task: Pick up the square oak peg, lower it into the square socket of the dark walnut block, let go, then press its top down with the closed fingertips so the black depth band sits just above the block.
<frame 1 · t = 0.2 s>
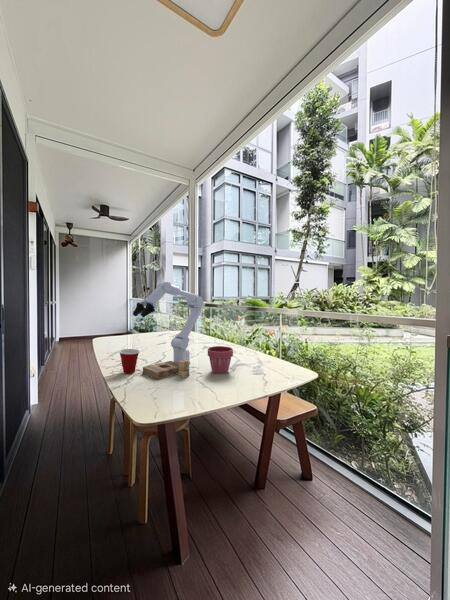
hand: (137, 315, 139), 31 cm above the table, tool tilted 45°, fingers open, 7 cm apart
oak peg: (183, 375, 138), on the table
walnut socket block: (164, 372, 144), on the table
plant pot: (220, 371, 147), on the table
plastic cup: (129, 372, 144), on the table
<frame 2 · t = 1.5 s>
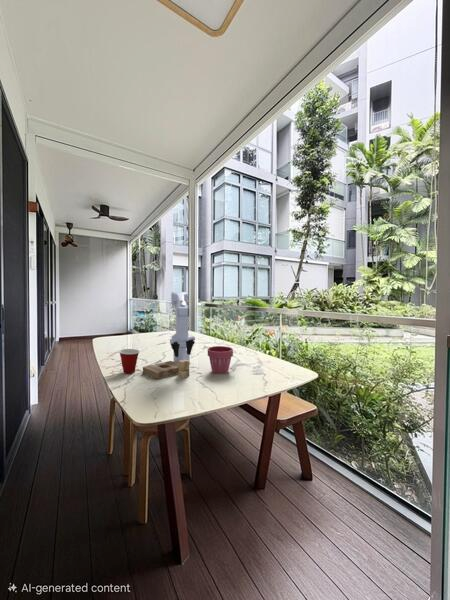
hand: (182, 355, 137), 11 cm above the table, tool pointing down, fingers open, 7 cm apart
nothing on the table moved.
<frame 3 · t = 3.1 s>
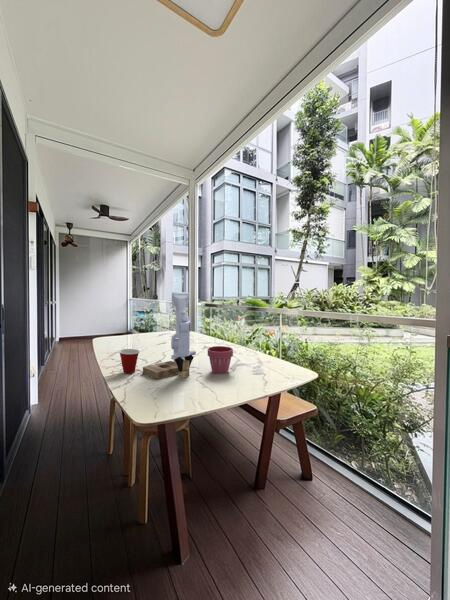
hand: (183, 370, 138), 3 cm above the table, tool pointing down, fingers closed on oak peg, 4 cm apart
oak peg: (183, 375, 138), on the table, touching gripper
everything else where it was.
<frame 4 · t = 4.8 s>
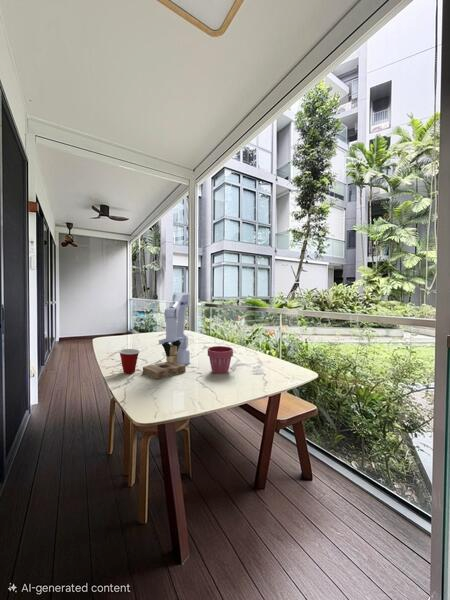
hand: (171, 355, 141), 10 cm above the table, tool pointing down, fingers closed on oak peg, 4 cm apart
oak peg: (171, 361, 141), point 7 cm above the table, touching gripper
everything else where it was.
when the fingers open (4 cm above the table, at t = 6.9 s): oak peg stays where it is, resting on walnut socket block.
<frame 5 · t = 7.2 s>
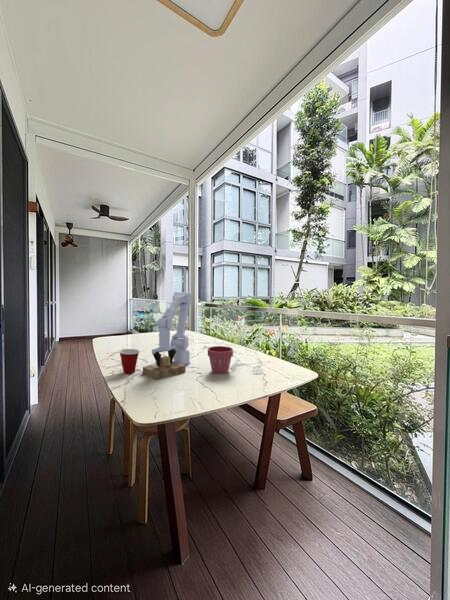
hand: (164, 364, 143), 4 cm above the table, tool pointing down, fingers open, 7 cm apart
oak peg: (164, 371, 143), resting on walnut socket block
everything else where it was.
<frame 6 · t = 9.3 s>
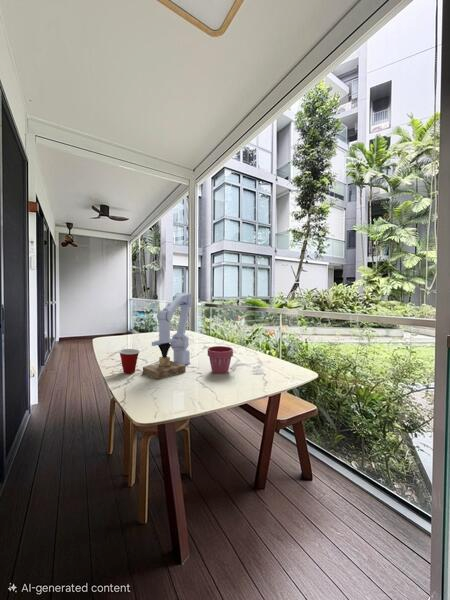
hand: (164, 357, 143), 8 cm above the table, tool pointing down, fingers closed, pressing on oak peg
oak peg: (164, 371, 143), resting on walnut socket block, touching gripper
everything else where it was.
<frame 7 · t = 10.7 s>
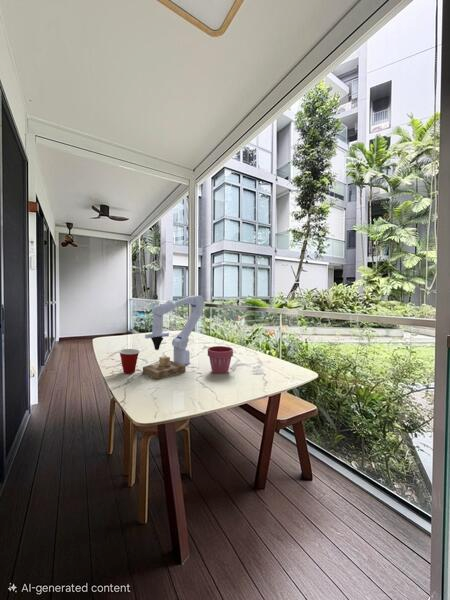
hand: (156, 349, 153), 10 cm above the table, tool pointing down, fingers closed
oak peg: (164, 371, 143), resting on walnut socket block
everything else where it was.
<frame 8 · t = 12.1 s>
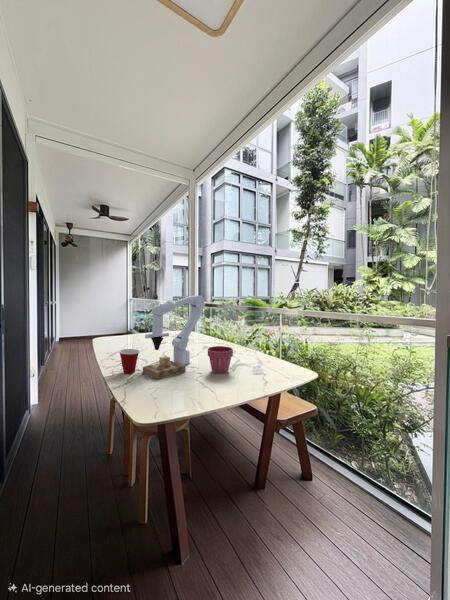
hand: (156, 349, 153), 10 cm above the table, tool pointing down, fingers closed
nothing on the table moved.
at the end: oak peg 0.2 cm off-centre on the walnut socket block, point 0.5 cm above the walnut socket block's base; oak peg tilted 0°; the gripper is holding nothing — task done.
